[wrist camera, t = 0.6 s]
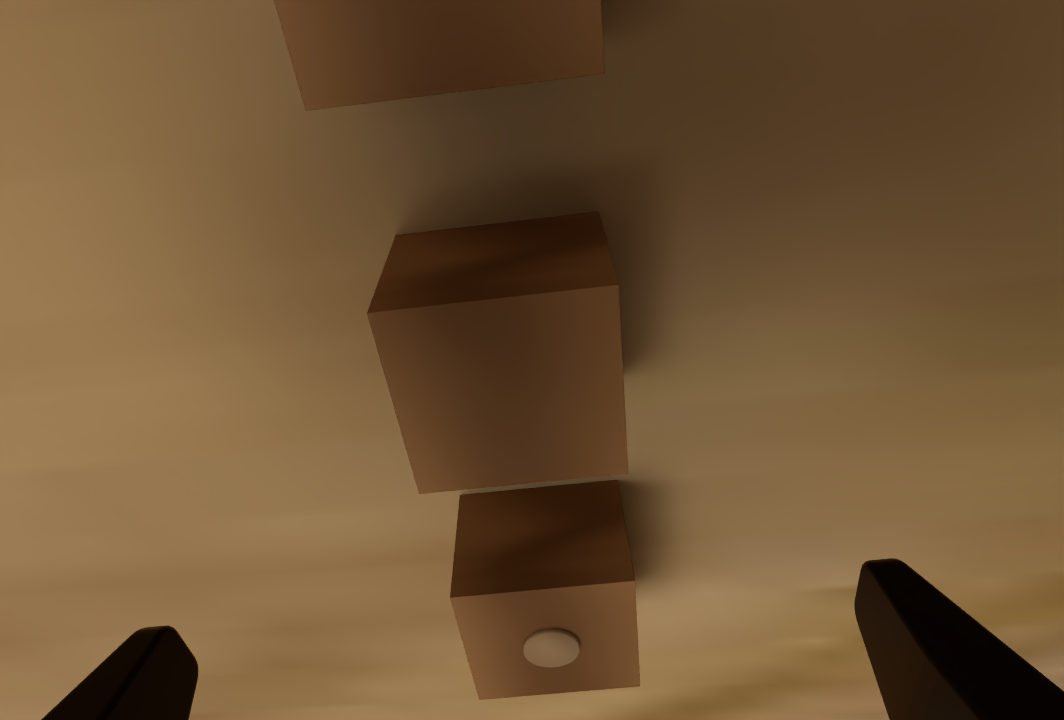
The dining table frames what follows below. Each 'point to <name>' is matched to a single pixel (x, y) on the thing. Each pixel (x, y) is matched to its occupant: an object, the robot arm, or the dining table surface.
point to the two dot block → (435, 46)
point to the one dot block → (545, 590)
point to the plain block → (504, 352)
